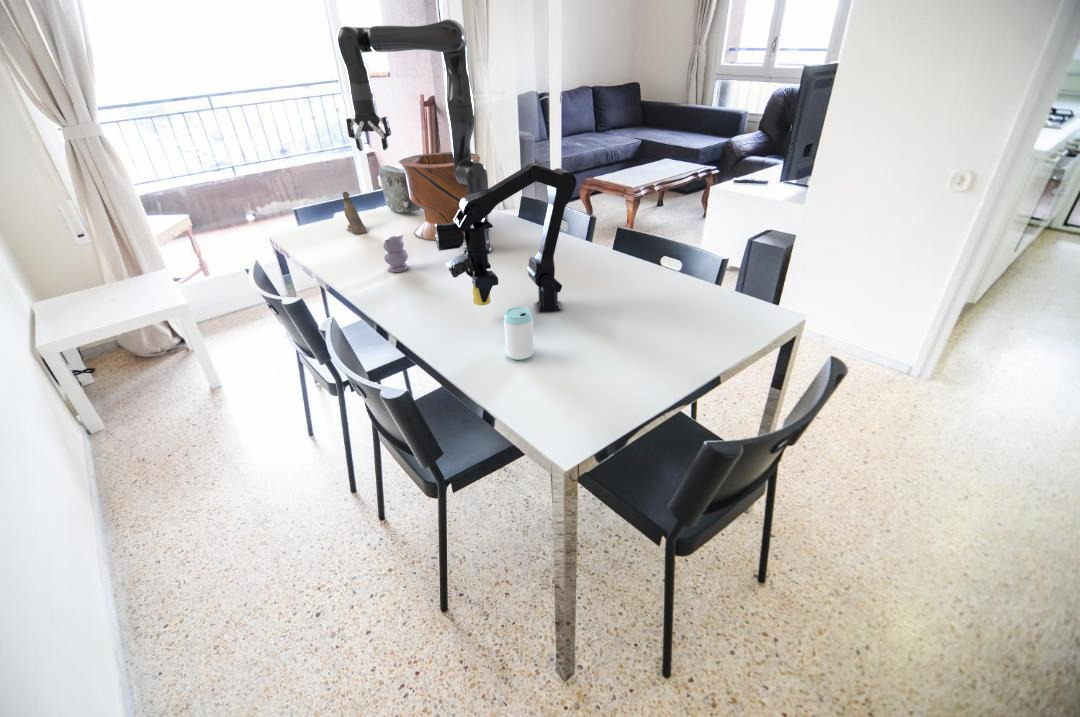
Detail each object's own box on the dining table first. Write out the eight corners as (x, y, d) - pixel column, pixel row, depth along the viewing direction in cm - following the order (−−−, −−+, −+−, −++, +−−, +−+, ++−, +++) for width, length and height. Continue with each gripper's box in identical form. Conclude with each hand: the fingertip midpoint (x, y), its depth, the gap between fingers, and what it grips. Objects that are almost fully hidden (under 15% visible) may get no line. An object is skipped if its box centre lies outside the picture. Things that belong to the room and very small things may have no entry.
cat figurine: (401, 263, 186) (395, 231, 179) (414, 267, 181) (409, 235, 175) (382, 270, 180) (375, 237, 174) (395, 274, 176) (388, 241, 169)
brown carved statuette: (348, 234, 227) (335, 193, 221) (360, 231, 230) (348, 191, 223) (356, 234, 218) (343, 192, 211) (368, 231, 221) (355, 189, 214)
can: (533, 346, 129) (531, 304, 123) (534, 360, 123) (532, 317, 117) (506, 347, 129) (503, 306, 123) (506, 362, 123) (502, 318, 117)
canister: (476, 298, 144) (474, 283, 141) (492, 298, 143) (490, 283, 141) (472, 305, 140) (470, 289, 137) (488, 305, 139) (487, 290, 137)
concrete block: (383, 207, 257) (375, 166, 246) (398, 204, 261) (391, 164, 251) (406, 217, 239) (398, 174, 228) (422, 214, 243) (415, 171, 233)
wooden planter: (394, 239, 210) (380, 166, 195) (433, 216, 239) (423, 151, 223) (469, 244, 201) (460, 168, 186) (499, 220, 230) (494, 152, 214)
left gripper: (387, 96, 169) (396, 147, 177) (346, 98, 169) (356, 149, 178) (380, 98, 163) (390, 151, 171) (337, 100, 163) (349, 152, 172)
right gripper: (440, 239, 138) (447, 291, 146) (453, 261, 123) (460, 317, 131) (479, 233, 141) (484, 284, 149) (496, 254, 126) (501, 309, 134)
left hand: (373, 150), depth 174 cm, fingers open, 8 cm apart
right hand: (482, 298), depth 141 cm, fingers closed on canister, 5 cm apart
